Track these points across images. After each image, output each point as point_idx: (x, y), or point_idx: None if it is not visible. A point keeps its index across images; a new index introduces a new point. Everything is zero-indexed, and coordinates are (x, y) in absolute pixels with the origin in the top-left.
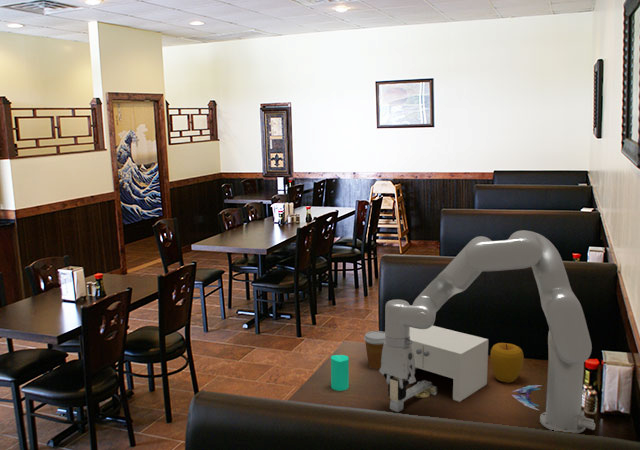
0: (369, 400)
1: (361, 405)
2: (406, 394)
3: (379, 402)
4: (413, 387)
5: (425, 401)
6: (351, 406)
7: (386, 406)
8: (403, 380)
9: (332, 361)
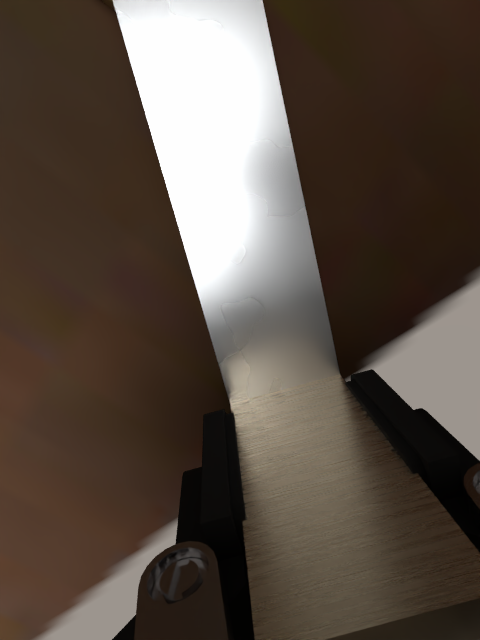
0: (8, 478)
1: (62, 572)
2: (281, 277)
3: (87, 430)
4: (155, 26)
5: (314, 23)
6: (41, 635)
7: (185, 424)
8: (477, 555)
9: None
